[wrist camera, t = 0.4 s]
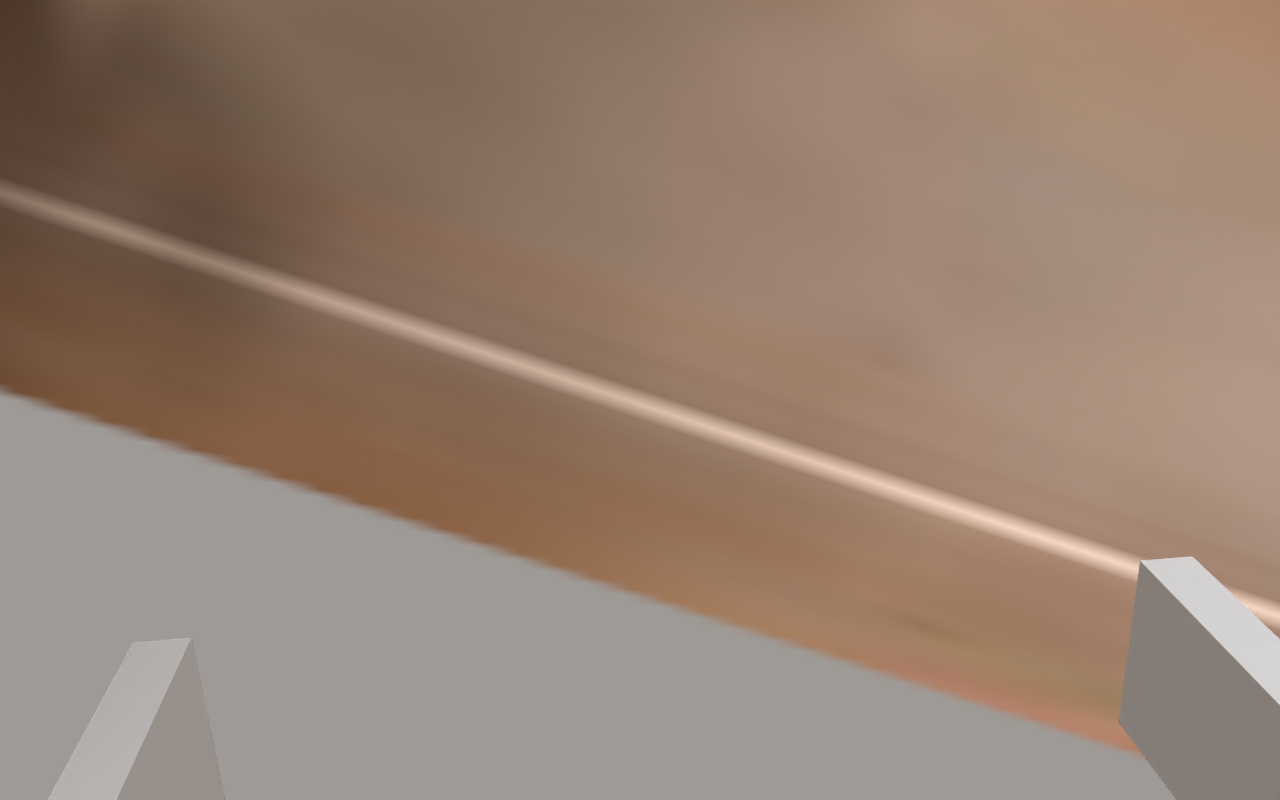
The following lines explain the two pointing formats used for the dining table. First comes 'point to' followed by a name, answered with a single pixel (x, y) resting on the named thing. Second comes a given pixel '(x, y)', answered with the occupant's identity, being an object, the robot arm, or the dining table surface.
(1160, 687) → the robot arm
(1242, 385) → the dining table surface
